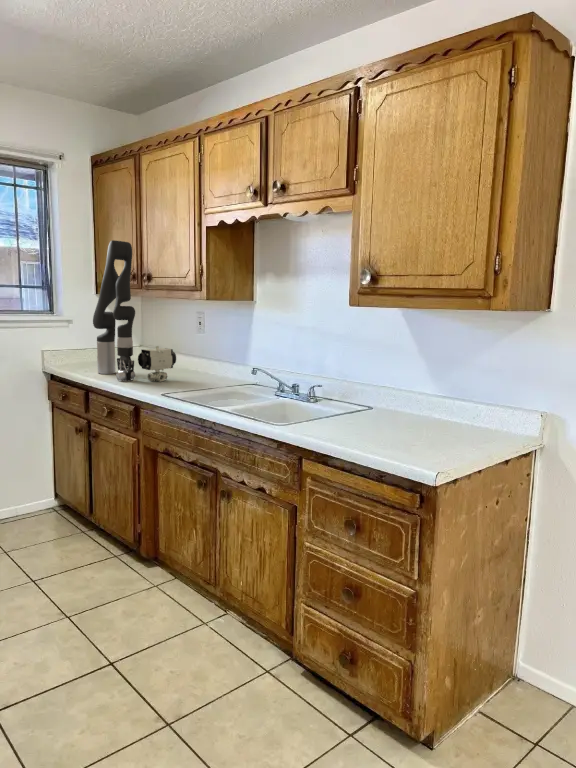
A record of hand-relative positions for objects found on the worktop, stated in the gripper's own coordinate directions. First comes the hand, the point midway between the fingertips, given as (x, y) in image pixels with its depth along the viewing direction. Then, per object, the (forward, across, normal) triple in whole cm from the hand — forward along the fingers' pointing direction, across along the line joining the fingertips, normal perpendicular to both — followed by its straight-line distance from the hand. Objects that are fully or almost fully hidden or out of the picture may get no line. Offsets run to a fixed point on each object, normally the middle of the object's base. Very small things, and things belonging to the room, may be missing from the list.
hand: (125, 379), depth 288 cm
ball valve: (+1, +11, +12) cm, 16 cm away
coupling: (+1, 0, 0) cm, 1 cm away
